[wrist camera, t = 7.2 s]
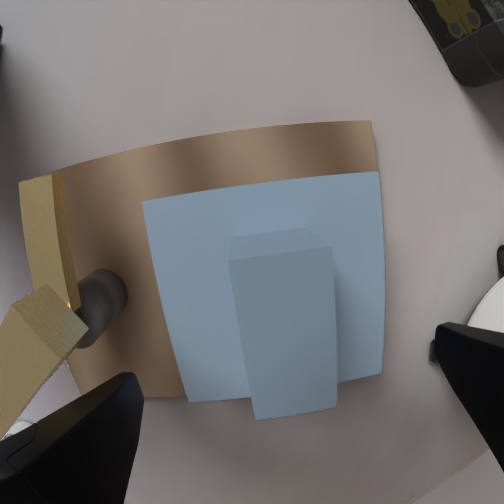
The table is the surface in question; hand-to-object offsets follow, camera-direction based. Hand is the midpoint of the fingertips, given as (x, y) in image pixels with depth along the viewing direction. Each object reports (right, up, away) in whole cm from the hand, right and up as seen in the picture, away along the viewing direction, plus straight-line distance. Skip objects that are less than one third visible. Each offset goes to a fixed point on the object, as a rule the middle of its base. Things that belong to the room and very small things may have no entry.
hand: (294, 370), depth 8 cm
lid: (0, +1, +7) cm, 7 cm away
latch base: (-4, +2, +11) cm, 12 cm away
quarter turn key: (-10, +2, +5) cm, 11 cm away
